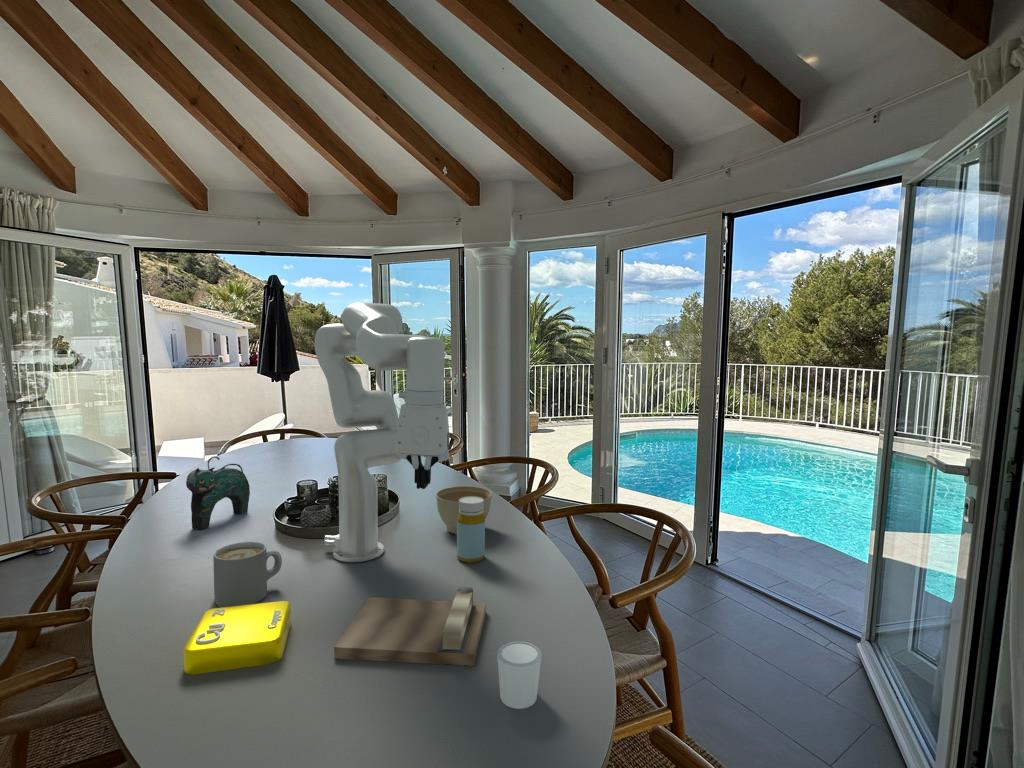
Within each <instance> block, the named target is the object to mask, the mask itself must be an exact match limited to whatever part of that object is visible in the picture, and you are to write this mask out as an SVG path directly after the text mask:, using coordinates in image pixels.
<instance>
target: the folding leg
mask: <svg viewBox="0 0 1024 768" xmlns="http://www.w3.org/2000/svg"><path fill="white" fill-rule="evenodd" d="M452 601H453V604H452V607H451V610H450V613H449V616H448V618H447V621H446V624H445V627H444V630H443V649H453V650H460V649H461V645H462V642H463V638H464V634H465V630H466V627H467V623H468V619H469V616H470V612H471V608H472V606H473V602H474V589H473V587H471V586H461V587H458V588H457V589H456V593H455V596H454V599H453V600H452Z"/></svg>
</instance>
